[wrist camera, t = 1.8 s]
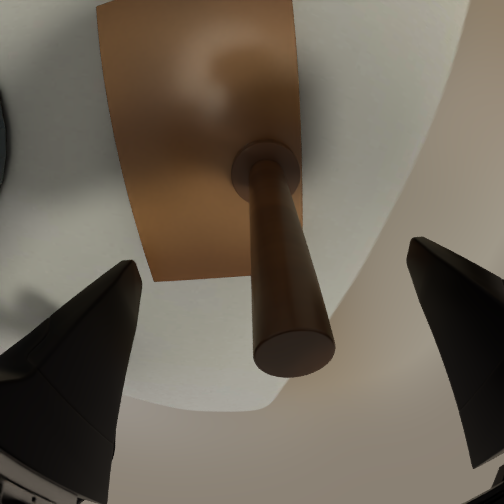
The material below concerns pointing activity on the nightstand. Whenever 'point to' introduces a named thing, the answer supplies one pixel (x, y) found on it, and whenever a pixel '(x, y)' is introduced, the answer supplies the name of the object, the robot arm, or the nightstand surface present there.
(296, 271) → the stirring stick
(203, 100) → the copper rest
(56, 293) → the nightstand surface
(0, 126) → the bowl
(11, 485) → the robot arm
